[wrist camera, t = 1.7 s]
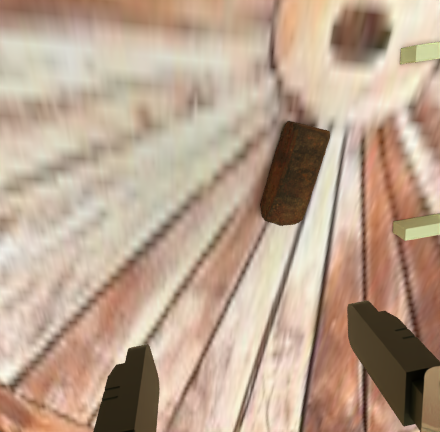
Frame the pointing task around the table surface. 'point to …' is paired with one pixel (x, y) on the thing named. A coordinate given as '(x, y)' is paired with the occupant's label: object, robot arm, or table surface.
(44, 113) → the table surface
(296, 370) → the table surface
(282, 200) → the brick
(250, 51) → the table surface
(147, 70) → the table surface
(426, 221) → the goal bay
